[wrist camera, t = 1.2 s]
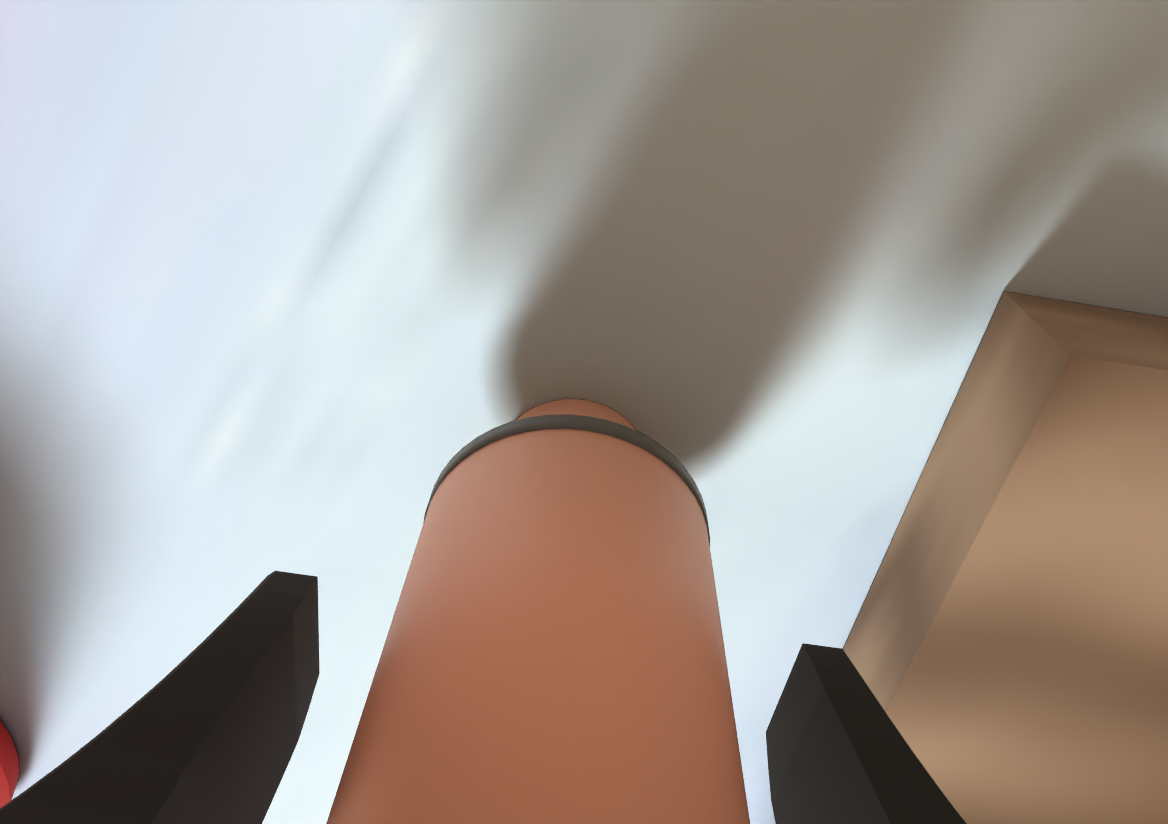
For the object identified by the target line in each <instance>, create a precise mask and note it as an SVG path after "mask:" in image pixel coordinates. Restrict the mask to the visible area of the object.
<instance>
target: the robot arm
mask: <svg viewBox="0 0 1168 824" xmlns="http://www.w3.org/2000/svg"><path fill="white" fill-rule="evenodd" d="M318 676H319V631H318V580H317V577H316V576H309V575H301V574H294V573H287V572H280V571H274V572H273V573H271V574H270V575H268V576H267V577H266V578H265V579H264V580H263V581H262V582H261V583H260V584H259V585H258V587H257V588H256V589H255V590H254V591H253V592H252V593H251V594H250V595H249V596H248V597H247V598H246V599H245V600H244V601H243V602H242V603H241V604H240V605H239V606H238V607H237V608H236V609H235V610H234V611H233V612H232V613H231V614H230V615H229V616H228V617H227V619H226V620H225V621H224V622H222V623H221V624H220V625H219V626H218V627H217V628H216V629H215V630H214V631H213V632H212V633H211V634H210V635H209V636H208V637H207V638H206V639H205V640H204V641H203V642H202V643H201V644H200V645H199V646H198V647H197V648H196V649H195V650H194V651H193V652H191V653H190V654H189V655H188V656H187V657H186V658H185V659H184V660H183V661H182V662H181V663H180V664H179V665H178V666H177V667H175V668H174V669H173V670H172V671H171V672H170V673H169V674H168V675H167V676H166V677H165V678H164V679H163V680H161V681H160V682H159V683H158V684H157V685H156V686H155V687H154V688H153V689H151V690H150V691H149V692H148V693H147V694H146V695H144V696H143V697H142V698H141V699H140V700H139V701H137V702H136V703H135V704H134V705H133V706H132V707H130V708H129V709H128V710H127V711H126V712H125V713H123V714H122V715H121V716H120V717H119V718H117V719H116V720H115V721H114V722H113V723H112V724H110V725H109V726H108V727H107V728H106V729H105V730H103V731H102V732H101V733H100V734H99V735H97V736H96V737H95V738H94V739H92V740H91V741H90V742H89V743H87V744H86V745H85V746H84V747H82V748H81V749H80V750H79V751H77V752H76V753H75V754H73V755H72V756H71V757H70V758H68V759H67V760H66V761H64V762H63V763H62V764H60V765H59V766H58V767H57V768H55V769H54V770H53V771H51V772H50V773H48V774H47V775H46V776H44V777H43V778H42V779H40V780H39V781H38V782H36V783H35V784H34V785H32V786H31V787H30V788H28V789H27V790H26V791H24V792H23V793H21V794H20V795H19V796H17V797H16V798H14V799H13V800H11V801H10V802H9V803H7V804H6V805H4V806H3V807H1V808H0V824H262V822H263V820H264V818H265V815H266V813H267V811H268V809H269V806H270V804H271V802H272V800H273V797H274V795H275V793H276V790H277V788H278V786H279V784H280V781H281V779H282V777H283V775H284V772H285V770H286V768H287V765H288V763H289V761H290V759H291V756H292V754H293V752H294V749H295V747H296V745H297V742H298V740H299V737H300V733H301V730H302V727H303V724H304V721H305V718H306V715H307V712H308V709H309V705H310V702H311V699H312V696H313V692H314V689H315V686H316V683H317V679H318ZM766 740H767V755H768V769H769V780H770V790H771V801H772V806H773V812H774V817H775V822H776V824H967V823H966V822H965V821H964V820H963V818H962V817H961V816H960V815H959V813H958V812H957V811H956V809H955V808H954V807H953V805H952V804H951V803H950V802H949V800H948V799H947V798H946V796H945V795H944V794H943V792H942V791H941V789H940V788H939V787H938V785H937V784H936V783H935V781H934V780H933V778H932V777H931V776H930V774H929V773H928V772H927V770H926V769H925V767H924V766H923V765H922V763H921V762H920V761H919V759H918V758H917V756H916V755H915V754H914V752H913V751H912V750H911V748H910V747H909V745H908V744H907V742H906V741H905V740H904V738H903V737H902V735H901V734H900V732H899V731H898V729H897V728H896V727H895V725H894V724H893V722H892V721H891V719H890V718H889V716H888V715H887V713H886V712H885V710H884V709H883V708H882V706H881V705H880V703H879V702H878V700H877V699H876V697H875V696H874V694H873V693H872V691H871V690H870V688H869V687H868V685H867V684H866V682H865V681H864V679H863V678H862V676H861V675H860V674H859V672H858V671H857V669H856V668H855V666H854V665H853V663H852V662H851V660H850V659H849V657H848V656H847V655H846V653H845V652H844V650H843V649H840V648H832V647H825V646H818V645H810V644H802V646H801V649H800V651H799V654H798V656H797V658H796V661H795V663H794V666H793V668H792V671H791V673H790V675H789V678H788V680H787V683H786V685H785V687H784V690H783V692H782V695H781V697H780V699H779V702H778V704H777V707H776V709H775V712H774V714H773V716H772V719H771V721H770V724H769V726H768V728H767V731H766Z"/></svg>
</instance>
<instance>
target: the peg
mask: <svg viewBox="0 0 1168 824" xmlns="http://www.w3.org/2000/svg"><path fill="white" fill-rule="evenodd" d="M327 824H750V820H749V813H748V807H747V800H746V793H745V786H744V779H743V772H742V766H741V759H740V752H739V745H738V738H737V731H736V724H735V718H734V711H733V704H732V697H731V690H730V683H729V677H728V670H727V663H726V656H725V649H724V642H723V636H722V629H721V622H720V615H719V608H718V601H717V594H716V588H715V581H714V574H713V567H712V560H711V553H710V536H709V528H708V521H707V514H706V509H705V506H704V502H703V499H702V496H701V494H700V492H699V490H698V488H697V486H696V483H695V482H694V480H693V479H692V477H691V476H690V474H689V473H688V471H687V470H686V468H685V467H684V466H683V465H682V464H681V463H680V462H679V461H678V460H677V459H676V458H675V457H674V456H673V455H672V454H671V453H670V452H669V451H667V450H666V449H665V448H664V447H662V446H661V445H660V444H658V443H657V442H655V441H654V440H652V439H650V438H649V437H647V436H646V435H644V434H642V433H640V432H638V431H636V430H635V428H634V427H633V426H632V425H631V424H630V423H629V421H628V420H626V419H625V418H624V417H623V416H622V415H620V414H619V413H617V412H616V411H614V410H612V409H610V408H608V407H606V406H604V405H601V404H598V403H595V402H592V401H587V400H580V399H562V400H554V401H550V402H546V403H543V404H541V405H538V406H536V407H534V408H532V409H530V410H528V411H527V412H525V413H524V414H523V415H521V416H520V417H519V418H518V419H517V420H516V421H512V422H509V423H507V424H504V425H501V426H499V427H496V428H494V429H492V430H490V431H488V432H486V433H484V434H482V435H481V436H479V437H477V438H476V439H474V440H473V441H471V442H470V443H469V444H467V445H466V446H465V447H463V448H462V449H461V450H460V451H459V452H458V453H457V454H456V455H455V456H454V457H453V458H452V459H451V460H450V461H449V463H448V464H447V465H446V467H445V468H444V469H443V471H442V472H441V474H440V476H439V478H438V480H437V481H436V483H435V485H434V488H433V491H432V494H431V497H430V500H429V503H428V506H427V509H426V512H425V517H424V523H423V527H422V530H421V533H420V536H419V539H418V543H417V546H416V549H415V552H414V555H413V558H412V561H411V564H410V567H409V570H408V573H407V577H406V580H405V583H404V586H403V589H402V592H401V595H400V598H399V601H398V604H397V607H396V611H395V614H394V617H393V620H392V623H391V626H390V629H389V632H388V635H387V638H386V641H385V644H384V648H383V651H382V654H381V657H380V660H379V663H378V666H377V669H376V672H375V675H374V678H373V682H372V685H371V688H370V691H369V694H368V697H367V700H366V703H365V706H364V709H363V712H362V716H361V719H360V722H359V725H358V728H357V731H356V734H355V737H354V740H353V743H352V746H351V750H350V753H349V756H348V759H347V762H346V765H345V768H344V771H343V774H342V777H341V780H340V784H339V787H338V790H337V793H336V796H335V799H334V802H333V805H332V808H331V811H330V814H329V817H328V821H327Z"/></svg>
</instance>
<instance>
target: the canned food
mask: <svg viewBox="0 0 1168 824" xmlns="http://www.w3.org/2000/svg"><path fill="white" fill-rule="evenodd" d="M19 773H20V770H19V758H18V754H17V751H16V749H15V746H14V743H13V741H12V738H11V736H10V735H9V733H8V732H7V730H6V728H5V727H4V725H3V724H2V722H1V721H0V808H1V807H3V806H4V805H6V804H7V803H9V802H10V801H11V799H12V796H13V793H14V790H15V787H16V784H17V780H18V776H19Z"/></svg>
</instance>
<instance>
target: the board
mask: <svg viewBox="0 0 1168 824" xmlns="http://www.w3.org/2000/svg"><path fill="white" fill-rule="evenodd" d="M843 650H844V652H845V653H846V655H847V656H848V657H849V659H850V660H851V662H852V663H853V665H854V666H855V668H856V669H857V671H858V672H859V674H860V675H861V676H862V678H863V679H864V681H865V682H866V684H867V685H868V687H869V688H870V690H871V691H872V693H873V694H874V696H875V697H876V699H877V700H878V702H879V703H880V705H881V706H882V708H883V709H884V710H885V712H886V713H887V715H888V716H889V718H890V719H891V721H892V722H893V724H894V725H895V727H896V728H897V729H898V731H899V732H900V734H901V735H902V737H903V738H904V740H905V741H906V742H907V744H908V745H909V747H910V748H911V750H912V751H913V752H914V754H915V755H916V756H917V758H918V759H919V761H920V762H921V763H922V765H923V766H924V767H925V769H926V770H927V772H928V773H929V774H930V776H931V777H932V778H933V780H934V781H935V783H936V784H937V785H938V787H939V788H940V789H941V791H942V792H943V794H944V795H945V796H946V798H947V799H948V800H949V802H950V803H951V804H952V805H953V807H954V808H955V809H956V811H957V812H958V813H959V815H960V816H961V817H962V818H963V820H964V821H965V822H966V823H967V824H1168V318H1165V317H1159V316H1153V315H1147V314H1141V313H1135V312H1128V311H1122V310H1116V309H1110V308H1104V307H1098V306H1091V305H1085V304H1079V303H1073V302H1067V301H1061V300H1055V299H1048V298H1042V297H1036V296H1030V295H1024V294H1018V293H1011V292H1005V291H1004V292H1003V294H1002V296H1001V298H1000V301H999V303H998V305H997V307H996V309H995V312H994V314H993V316H992V318H991V321H990V323H989V325H988V327H987V330H986V332H985V334H984V336H983V338H982V341H981V343H980V345H979V347H978V350H977V352H976V354H975V356H974V358H973V361H972V363H971V365H970V367H969V370H968V372H967V374H966V376H965V379H964V381H963V383H962V385H961V387H960V390H959V392H958V394H957V396H956V399H955V401H954V403H953V405H952V407H951V410H950V412H949V414H948V416H947V419H946V421H945V423H944V425H943V428H942V430H941V432H940V434H939V436H938V439H937V441H936V443H935V445H934V448H933V450H932V452H931V454H930V456H929V459H928V461H927V463H926V465H925V468H924V470H923V472H922V474H921V476H920V479H919V481H918V483H917V485H916V488H915V490H914V492H913V494H912V497H911V499H910V501H909V503H908V505H907V508H906V510H905V512H904V514H903V517H902V519H901V521H900V523H899V525H898V528H897V530H896V532H895V534H894V537H893V539H892V541H891V543H890V546H889V548H888V550H887V552H886V554H885V557H884V559H883V561H882V563H881V566H880V568H879V570H878V572H877V574H876V577H875V579H874V581H873V583H872V586H871V588H870V590H869V592H868V595H867V597H866V599H865V601H864V603H863V606H862V608H861V610H860V612H859V615H858V617H857V619H856V621H855V623H854V626H853V628H852V630H851V632H850V635H849V637H848V639H847V641H846V644H845V646H844V648H843Z"/></svg>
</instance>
